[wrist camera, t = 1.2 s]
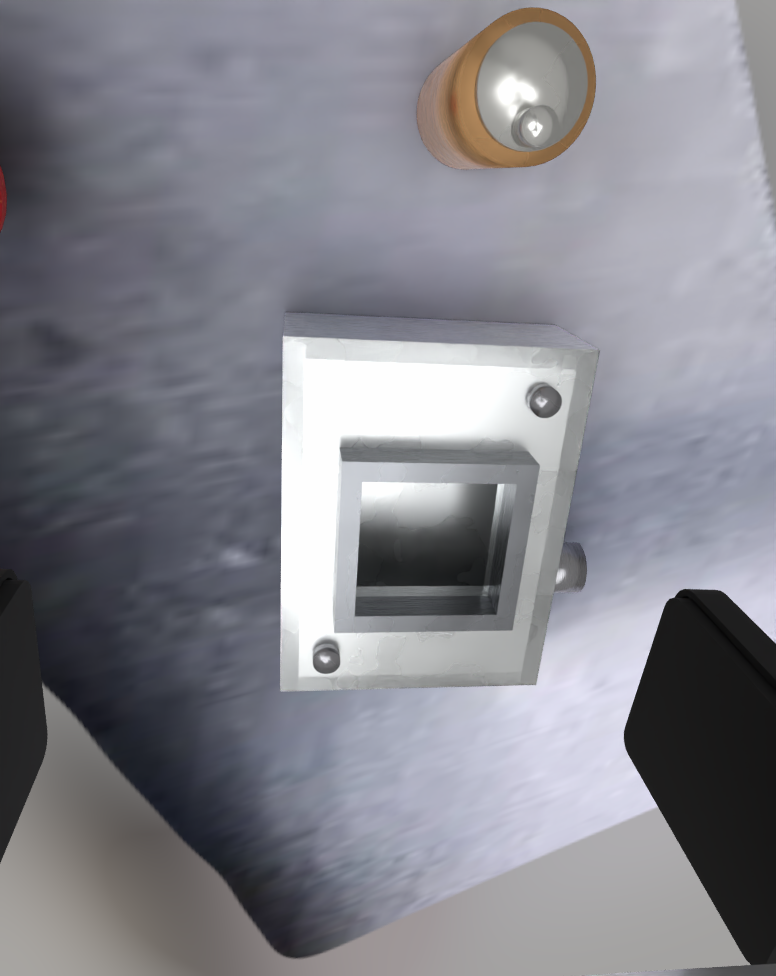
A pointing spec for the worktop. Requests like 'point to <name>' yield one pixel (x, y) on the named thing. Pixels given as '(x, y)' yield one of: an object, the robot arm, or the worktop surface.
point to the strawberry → (2, 199)
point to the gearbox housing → (426, 498)
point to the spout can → (509, 94)
